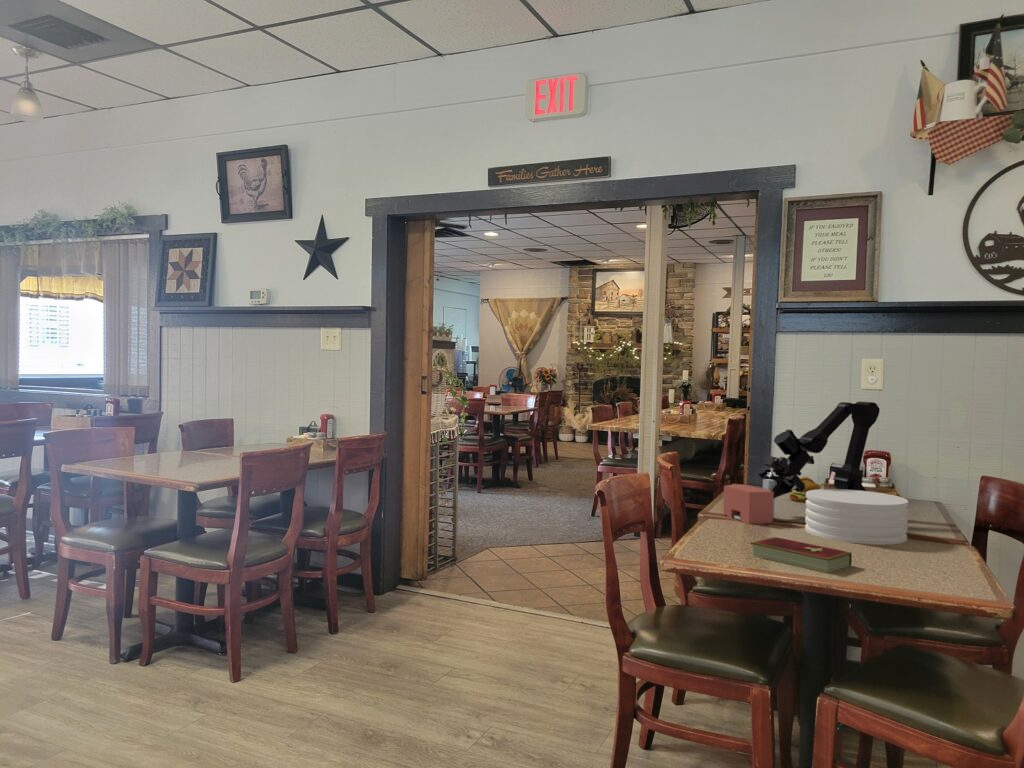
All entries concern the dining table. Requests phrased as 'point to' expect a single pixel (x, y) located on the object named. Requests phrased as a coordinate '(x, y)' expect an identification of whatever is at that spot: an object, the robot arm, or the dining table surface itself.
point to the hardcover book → (801, 554)
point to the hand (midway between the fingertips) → (764, 498)
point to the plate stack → (856, 516)
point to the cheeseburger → (808, 486)
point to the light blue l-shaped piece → (767, 485)
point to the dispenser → (748, 503)
